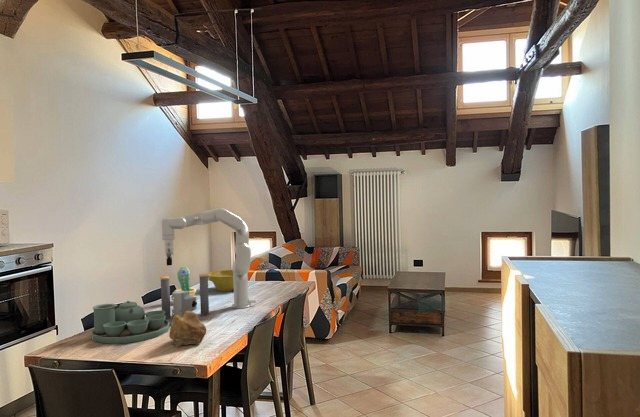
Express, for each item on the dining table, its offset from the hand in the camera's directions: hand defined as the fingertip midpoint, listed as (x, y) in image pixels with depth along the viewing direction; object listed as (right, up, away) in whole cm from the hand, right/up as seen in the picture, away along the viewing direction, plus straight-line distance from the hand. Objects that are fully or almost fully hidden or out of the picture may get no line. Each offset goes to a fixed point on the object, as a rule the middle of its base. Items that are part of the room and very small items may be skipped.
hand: (169, 264), depth 299 cm
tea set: (-7, -33, -42) cm, 54 cm away
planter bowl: (+23, -29, +75) cm, 83 cm away
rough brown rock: (+31, -32, -63) cm, 77 cm away
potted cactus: (+1, -31, +34) cm, 46 cm away
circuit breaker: (+13, -31, -8) cm, 35 cm away
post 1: (+2, -32, -12) cm, 34 cm away
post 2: (+24, -31, -5) cm, 39 cm away
